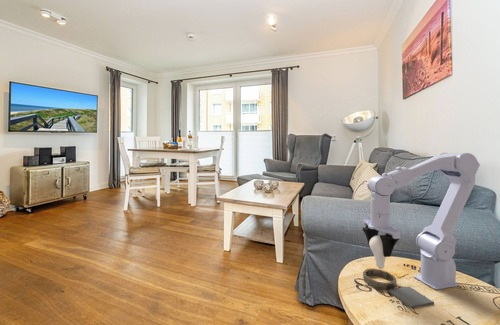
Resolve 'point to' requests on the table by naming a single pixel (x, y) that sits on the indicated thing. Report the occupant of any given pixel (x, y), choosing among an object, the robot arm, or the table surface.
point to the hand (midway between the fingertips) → (379, 252)
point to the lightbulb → (377, 251)
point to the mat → (410, 297)
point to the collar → (379, 284)
